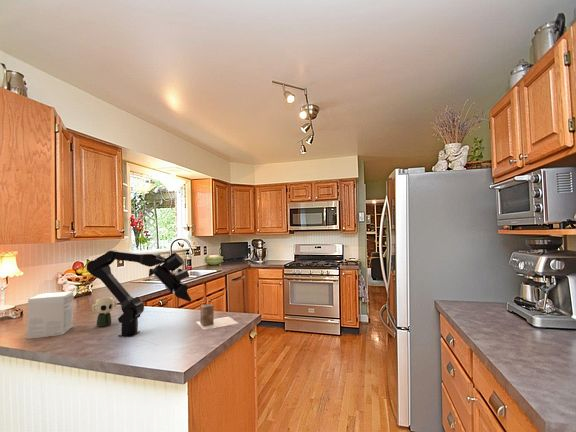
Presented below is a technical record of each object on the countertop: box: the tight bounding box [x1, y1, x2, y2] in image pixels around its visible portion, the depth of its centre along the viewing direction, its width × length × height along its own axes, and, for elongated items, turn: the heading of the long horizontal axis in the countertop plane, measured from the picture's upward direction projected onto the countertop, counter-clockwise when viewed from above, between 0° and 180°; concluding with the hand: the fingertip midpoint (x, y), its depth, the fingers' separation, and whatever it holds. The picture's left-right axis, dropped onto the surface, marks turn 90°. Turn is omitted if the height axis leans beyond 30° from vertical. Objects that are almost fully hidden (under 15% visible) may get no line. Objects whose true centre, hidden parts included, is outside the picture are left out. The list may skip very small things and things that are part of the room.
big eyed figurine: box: [91, 297, 117, 327], centre depth 140 cm, size 11×7×13 cm, turn 145°
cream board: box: [196, 316, 239, 331], centre depth 139 cm, size 17×14×1 cm
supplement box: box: [25, 290, 74, 340], centre depth 131 cm, size 13×13×18 cm
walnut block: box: [199, 303, 215, 327], centre depth 137 cm, size 5×5×9 cm
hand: (187, 298), depth 135 cm, fingers open, 9 cm apart
